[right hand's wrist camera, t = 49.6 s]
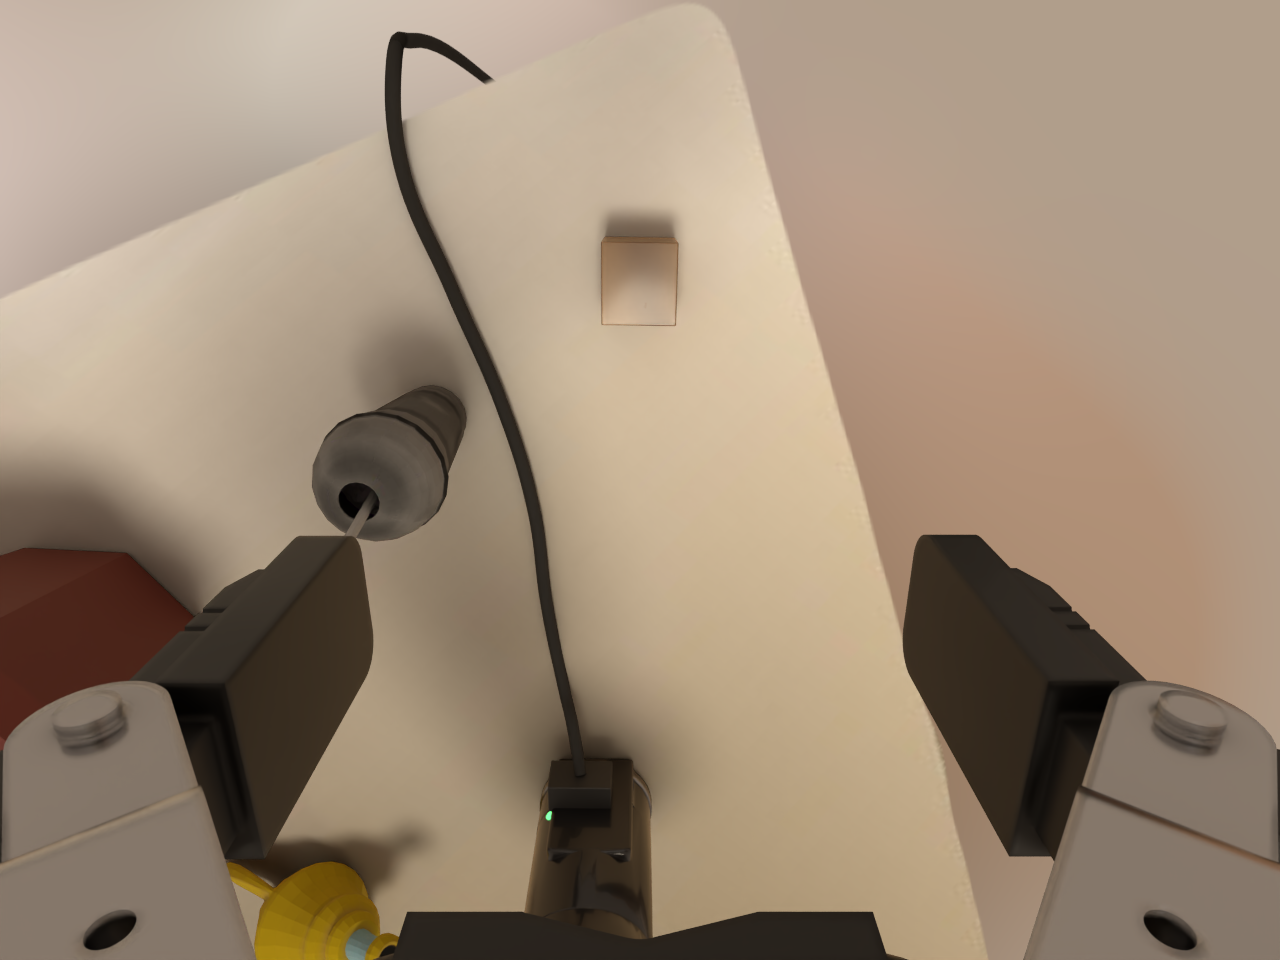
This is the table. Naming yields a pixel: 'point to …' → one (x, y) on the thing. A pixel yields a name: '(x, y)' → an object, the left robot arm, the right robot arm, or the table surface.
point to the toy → (316, 915)
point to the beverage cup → (389, 465)
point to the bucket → (75, 625)
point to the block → (639, 281)
